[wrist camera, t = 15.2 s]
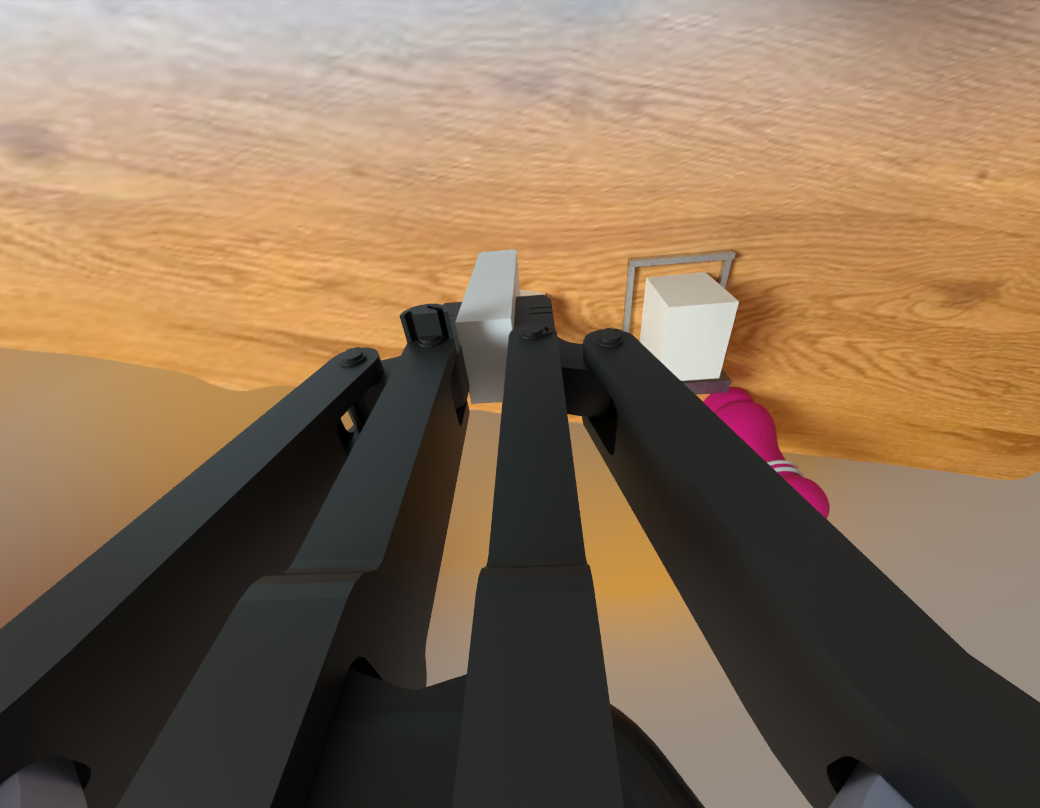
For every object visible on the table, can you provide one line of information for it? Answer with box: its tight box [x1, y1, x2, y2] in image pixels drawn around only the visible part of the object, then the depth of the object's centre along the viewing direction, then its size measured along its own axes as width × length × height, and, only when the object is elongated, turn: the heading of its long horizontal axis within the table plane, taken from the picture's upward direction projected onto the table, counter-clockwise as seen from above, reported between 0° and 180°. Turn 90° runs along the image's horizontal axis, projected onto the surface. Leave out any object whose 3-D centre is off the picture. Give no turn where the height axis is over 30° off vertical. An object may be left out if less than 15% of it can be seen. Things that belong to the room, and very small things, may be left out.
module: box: [640, 272, 739, 381], centre depth 39 cm, size 8×6×8 cm
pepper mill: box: [704, 387, 830, 519], centre depth 42 cm, size 7×7×20 cm
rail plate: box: [622, 250, 736, 394], centre depth 41 cm, size 14×12×5 cm
